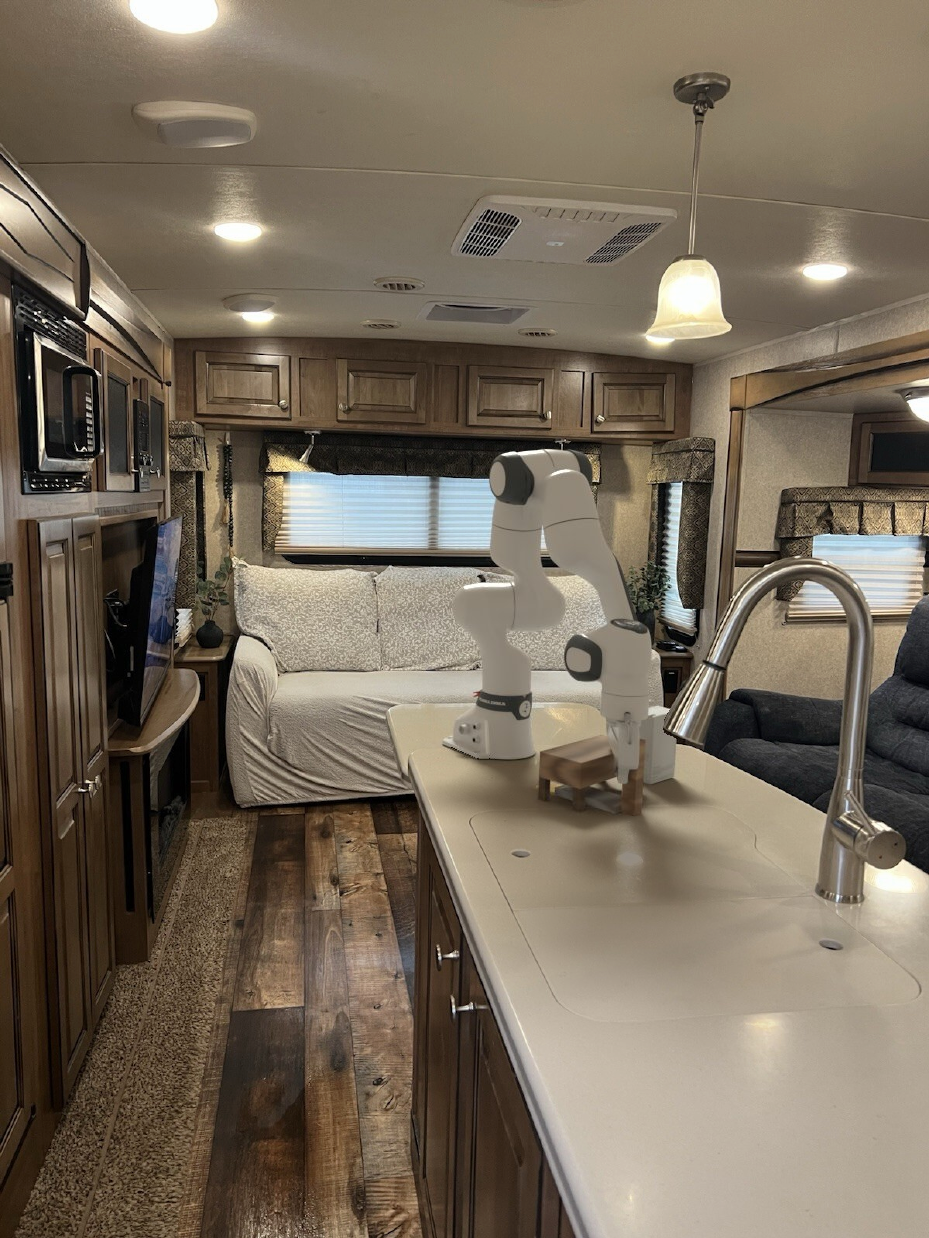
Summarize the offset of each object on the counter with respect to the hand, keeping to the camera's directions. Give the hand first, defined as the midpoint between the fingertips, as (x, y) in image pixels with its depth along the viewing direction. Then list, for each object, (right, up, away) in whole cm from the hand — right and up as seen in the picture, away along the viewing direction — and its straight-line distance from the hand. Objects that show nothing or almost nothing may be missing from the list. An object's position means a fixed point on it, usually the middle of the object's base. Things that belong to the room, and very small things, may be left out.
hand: (620, 778), depth 173 cm
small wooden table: (-5, -5, +9) cm, 11 cm away
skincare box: (+10, -4, +21) cm, 24 cm away
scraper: (-3, -5, +5) cm, 8 cm away
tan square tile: (-12, -5, +12) cm, 17 cm away
